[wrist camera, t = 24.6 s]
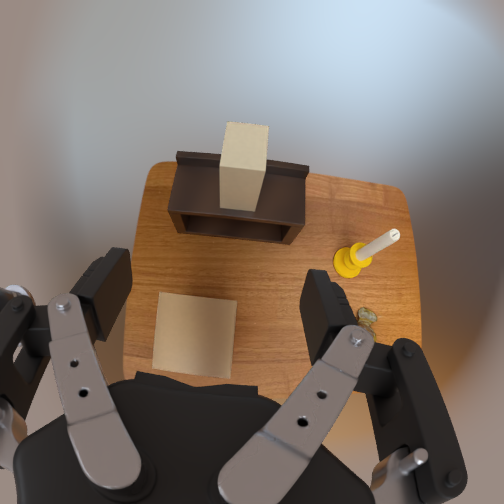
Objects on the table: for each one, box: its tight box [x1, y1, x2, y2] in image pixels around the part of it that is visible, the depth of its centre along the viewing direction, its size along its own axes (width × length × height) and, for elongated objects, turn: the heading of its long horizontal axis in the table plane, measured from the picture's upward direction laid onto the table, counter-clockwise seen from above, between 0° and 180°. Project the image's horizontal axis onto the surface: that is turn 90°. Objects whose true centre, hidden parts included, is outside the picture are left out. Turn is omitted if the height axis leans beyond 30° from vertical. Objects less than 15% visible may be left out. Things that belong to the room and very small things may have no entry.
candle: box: [333, 229, 400, 278], centre depth 38 cm, size 5×5×16 cm
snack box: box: [219, 122, 269, 212], centre depth 32 cm, size 4×6×10 cm
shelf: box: [168, 151, 309, 245], centre depth 40 cm, size 18×8×11 cm, turn 85°
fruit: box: [357, 307, 377, 342], centre depth 40 cm, size 8×8×4 cm
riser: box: [152, 292, 237, 379], centre depth 33 cm, size 8×8×14 cm
